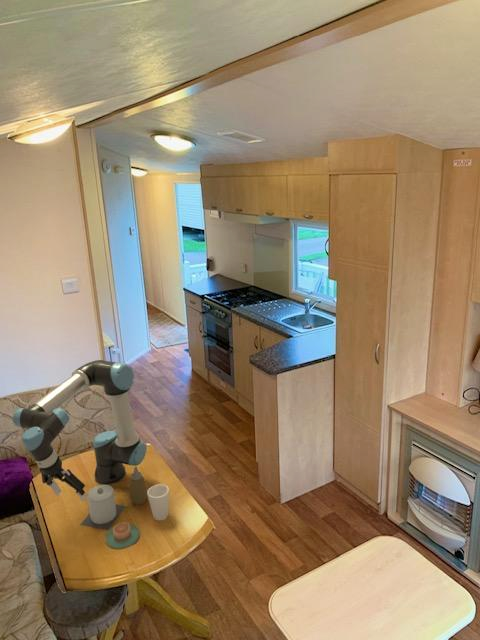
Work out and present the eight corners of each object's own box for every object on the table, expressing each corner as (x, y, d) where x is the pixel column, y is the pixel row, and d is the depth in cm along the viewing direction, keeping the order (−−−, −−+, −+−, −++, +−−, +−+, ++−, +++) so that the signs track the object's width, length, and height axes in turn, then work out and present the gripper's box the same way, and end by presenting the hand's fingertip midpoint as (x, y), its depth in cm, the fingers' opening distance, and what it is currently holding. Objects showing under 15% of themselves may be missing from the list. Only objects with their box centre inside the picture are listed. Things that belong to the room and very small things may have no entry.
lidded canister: (99, 505, 227) (95, 479, 223) (120, 509, 224) (117, 482, 219) (86, 521, 217) (81, 494, 212) (108, 525, 214) (104, 498, 209)
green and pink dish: (116, 523, 215) (115, 514, 214) (145, 528, 211) (144, 519, 210) (99, 546, 202) (97, 536, 201) (129, 552, 199) (128, 542, 197)
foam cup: (167, 524, 213) (164, 498, 210) (146, 522, 215) (144, 496, 211) (174, 509, 222) (171, 485, 218) (154, 507, 224) (152, 483, 220)
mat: (99, 502, 229) (99, 501, 229) (126, 506, 226) (126, 506, 225) (79, 525, 215) (79, 524, 215) (108, 530, 211) (108, 530, 211)
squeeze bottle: (136, 509, 224) (132, 475, 218) (127, 501, 229) (123, 467, 224) (151, 501, 229) (148, 467, 223) (142, 493, 234) (138, 460, 229)
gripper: (18, 464, 191) (42, 498, 202) (67, 473, 180) (90, 509, 192) (31, 449, 196) (54, 483, 208) (79, 457, 186) (101, 493, 197)
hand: (71, 496), depth 200 cm, fingers open, 13 cm apart
